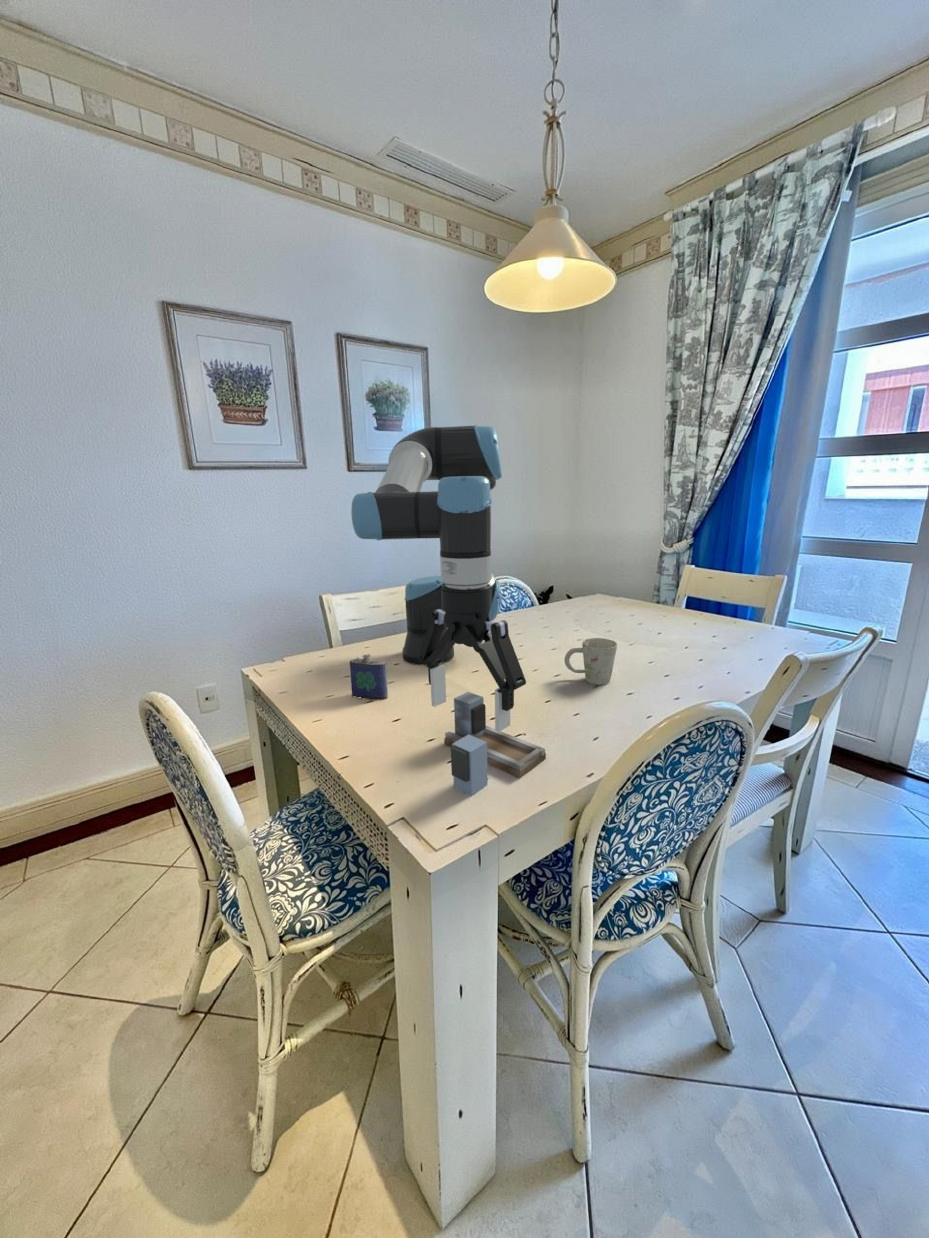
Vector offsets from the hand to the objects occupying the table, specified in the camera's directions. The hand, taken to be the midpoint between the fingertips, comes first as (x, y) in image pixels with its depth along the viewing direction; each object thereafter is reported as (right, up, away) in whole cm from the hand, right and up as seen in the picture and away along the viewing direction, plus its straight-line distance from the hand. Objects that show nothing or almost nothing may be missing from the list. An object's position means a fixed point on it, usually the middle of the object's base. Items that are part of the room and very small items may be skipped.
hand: (469, 715), depth 78 cm
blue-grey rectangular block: (0, -13, +4) cm, 13 cm away
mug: (+31, 0, +46) cm, 56 cm away
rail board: (+5, -10, +14) cm, 18 cm away
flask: (-24, -4, +40) cm, 46 cm away
